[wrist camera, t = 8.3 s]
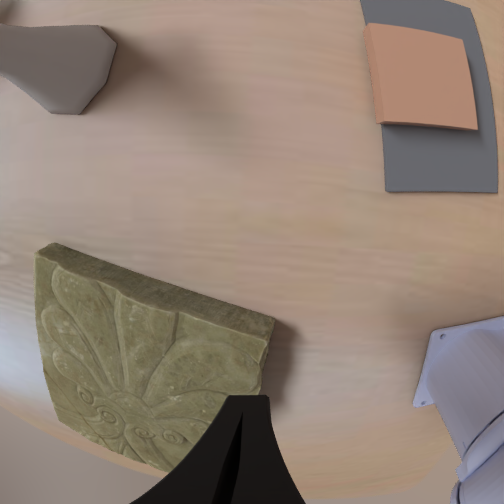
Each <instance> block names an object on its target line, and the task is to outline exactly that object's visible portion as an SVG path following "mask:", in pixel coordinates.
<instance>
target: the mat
mask: <svg viewBox="0 0 504 504" xmlns="http://www.w3.org/2000/svg"><path fill="white" fill-rule="evenodd" d="M360 2H361V6H362V10H363V14H364V18H365V23H366V26H367V24H368V23H377V24H386V25H393V26H400V27H407V28H413V29H418V30H424V31H429V32H433V33H438V34H442V35H447V36H451V37H455V38H458V39H462V40H463V44H464V48H465V52H466V56H467V61H468V66H469V71H470V76H471V81H472V87H473V93H474V100H475V108H476V116H477V126H478V130H468V131H465V130H457V129H448V128H438V127H427V126H414V125H396V124H381V126H382V138H383V151H384V170H385V191H387V192H398V191H453V192H492V193H497V192H498V166H497V143H496V130H495V119H494V111H493V103H492V96H491V90H490V84H489V79H488V73H487V68H486V64H485V59H484V55H483V51H482V47H481V43H480V39H479V36H478V32H477V29H476V25H475V22H474V19H473V16H472V13H471V10H470V8H467V7H464V6H461V5H458V4H455V3H452V2H448V1H445V0H360Z"/></svg>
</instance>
